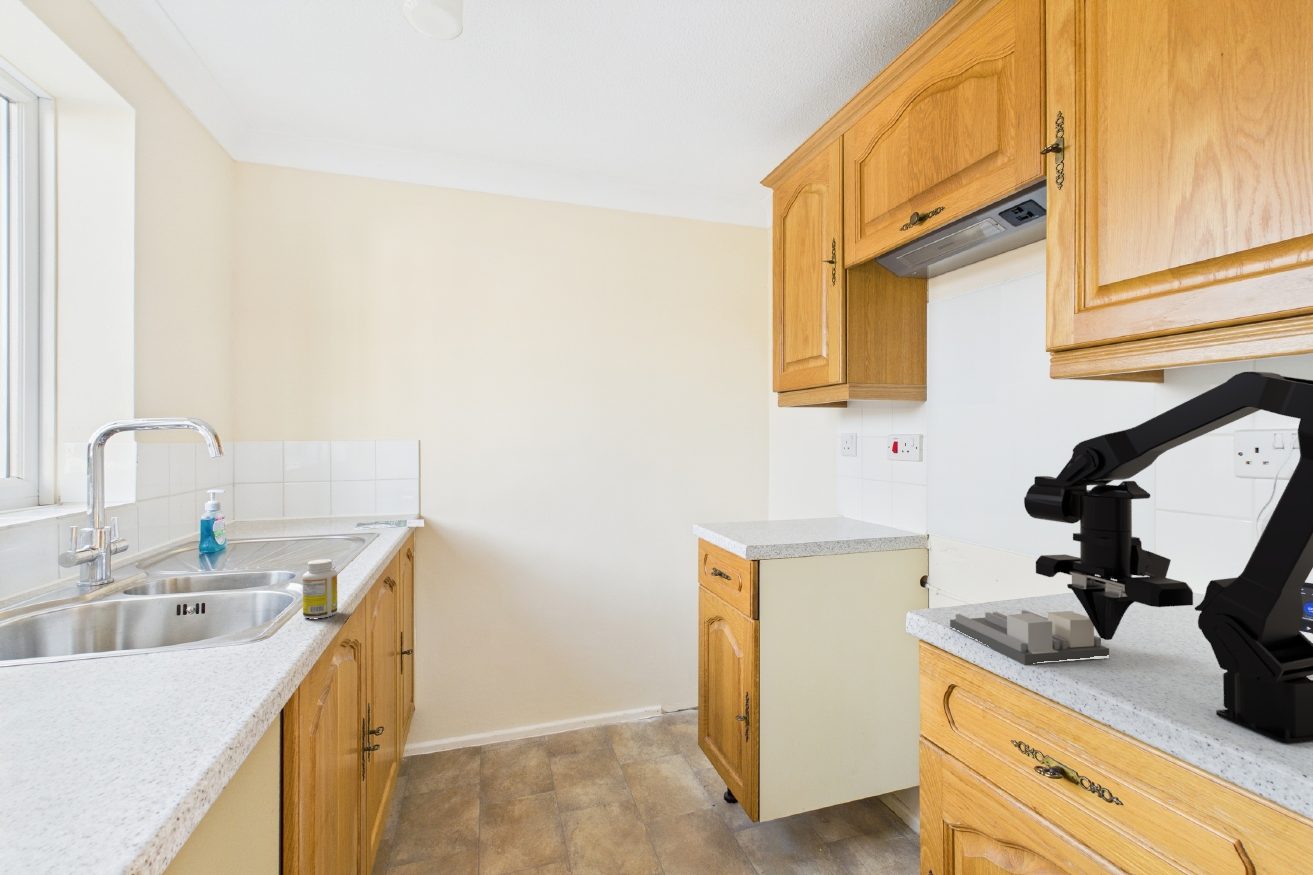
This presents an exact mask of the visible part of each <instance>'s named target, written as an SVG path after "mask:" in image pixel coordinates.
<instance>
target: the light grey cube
mask: <svg viewBox="0 0 1313 875" xmlns="http://www.w3.org/2000/svg"><path fill="white" fill-rule="evenodd" d="M1006 616H1007V635H1008V636H1011V637H1013V638H1015V639H1017V640H1020V641H1022V642H1024V643H1026V650H1028V651H1031V650H1045V649H1053V641H1052V621H1049V620H1047V619H1044V618H1041V617H1039V616H1036V615H1033V614H1031V613H1028V614H1022V613H1014V614H1012V613H1011V614H1007V615H1006Z"/></svg>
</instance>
